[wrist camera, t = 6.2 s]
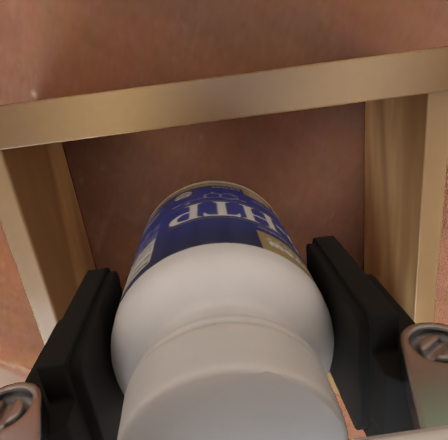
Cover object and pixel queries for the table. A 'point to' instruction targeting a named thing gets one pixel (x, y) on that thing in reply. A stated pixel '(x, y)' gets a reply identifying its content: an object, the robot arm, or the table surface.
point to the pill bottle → (222, 327)
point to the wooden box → (227, 110)
